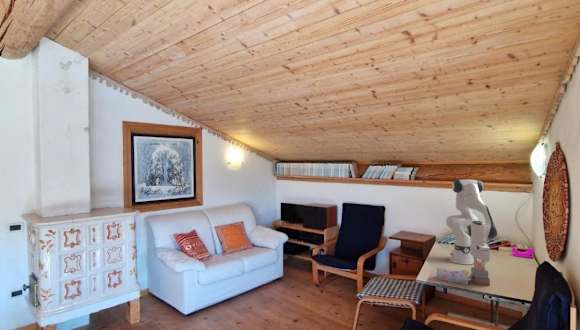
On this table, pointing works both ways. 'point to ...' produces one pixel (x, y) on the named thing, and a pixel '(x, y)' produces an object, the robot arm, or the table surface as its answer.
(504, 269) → the table surface
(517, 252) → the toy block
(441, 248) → the table surface
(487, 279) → the tower bottom
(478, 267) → the terracotta cube
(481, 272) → the tower top
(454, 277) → the pencil case
